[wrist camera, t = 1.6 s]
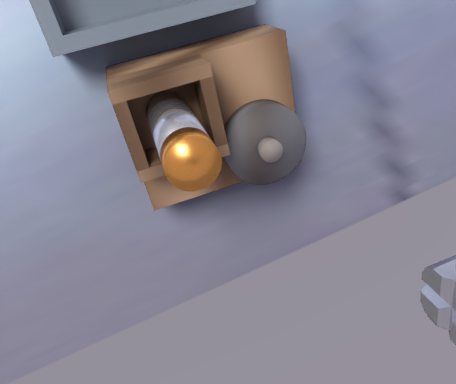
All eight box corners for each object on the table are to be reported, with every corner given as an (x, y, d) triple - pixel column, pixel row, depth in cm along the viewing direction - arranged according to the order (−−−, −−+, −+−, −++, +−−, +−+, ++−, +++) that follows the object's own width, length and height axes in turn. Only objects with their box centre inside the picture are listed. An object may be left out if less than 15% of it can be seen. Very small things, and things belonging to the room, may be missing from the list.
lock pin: (181, 85, 26) (215, 130, 18) (191, 124, 27) (227, 181, 20) (139, 97, 26) (156, 147, 18) (152, 136, 27) (173, 198, 19)
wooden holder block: (264, 24, 30) (305, 36, 24) (281, 144, 35) (319, 179, 29) (106, 67, 28) (107, 91, 22) (148, 186, 33) (159, 232, 27)
